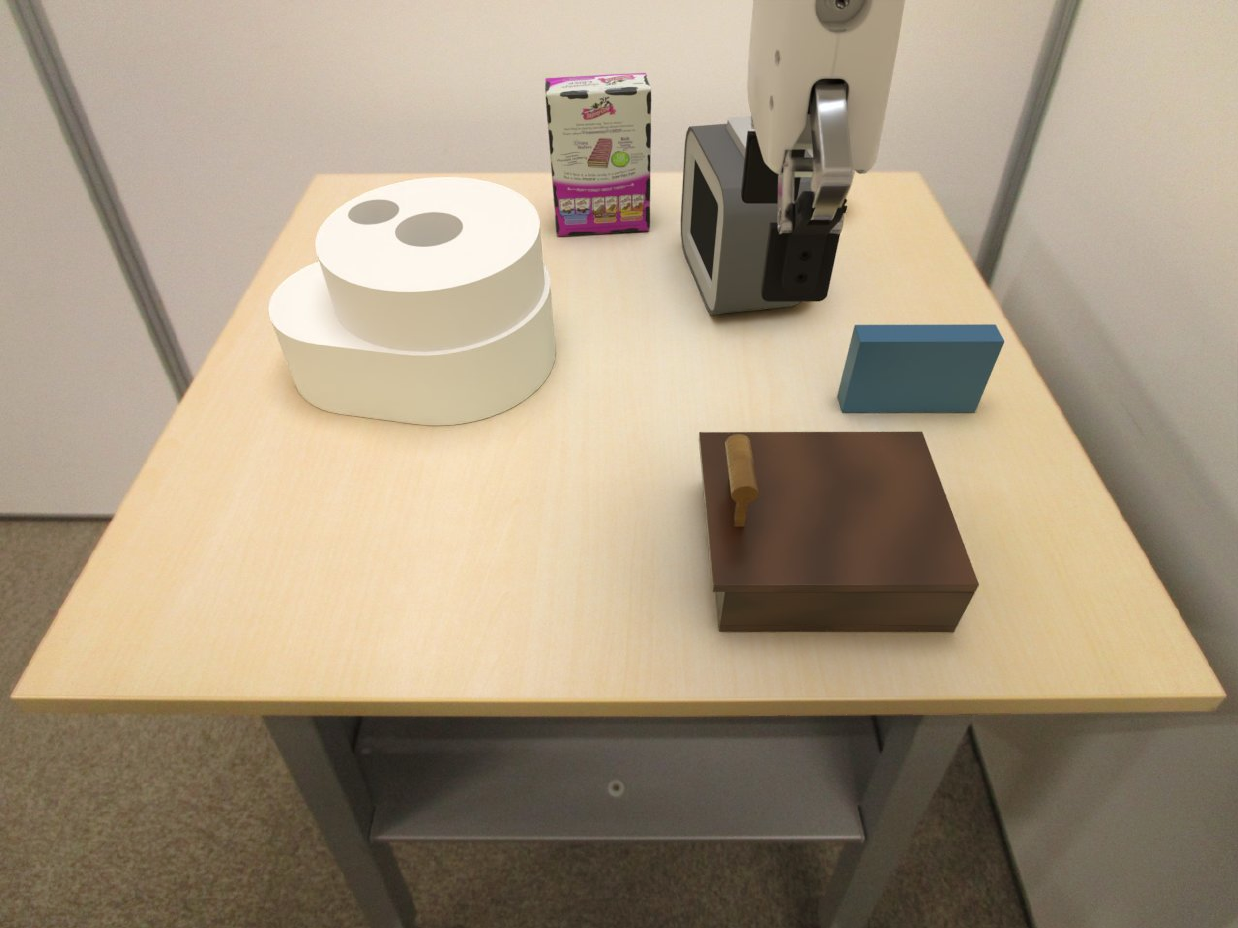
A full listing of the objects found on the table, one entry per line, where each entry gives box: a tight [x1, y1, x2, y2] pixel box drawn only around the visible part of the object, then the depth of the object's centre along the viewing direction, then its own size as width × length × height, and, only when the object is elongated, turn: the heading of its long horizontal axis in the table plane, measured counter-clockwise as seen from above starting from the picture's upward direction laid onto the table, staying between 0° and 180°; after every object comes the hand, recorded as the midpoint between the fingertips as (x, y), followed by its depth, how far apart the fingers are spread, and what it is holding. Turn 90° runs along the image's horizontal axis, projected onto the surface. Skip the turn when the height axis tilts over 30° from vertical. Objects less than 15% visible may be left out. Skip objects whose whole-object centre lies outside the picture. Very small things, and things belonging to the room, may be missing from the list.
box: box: [714, 591, 976, 633], centre depth 61 cm, size 17×15×5 cm
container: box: [267, 176, 557, 427], centre depth 74 cm, size 20×25×14 cm
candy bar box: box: [544, 72, 652, 237], centre depth 91 cm, size 11×5×16 cm, turn 95°
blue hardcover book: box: [836, 323, 1005, 414], centre depth 71 cm, size 12×2×8 cm, turn 90°
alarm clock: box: [680, 115, 812, 316], centre depth 83 cm, size 16×11×16 cm
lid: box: [698, 431, 980, 593], centre depth 57 cm, size 17×15×5 cm
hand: (779, 246), depth 44 cm, fingers open, 9 cm apart
